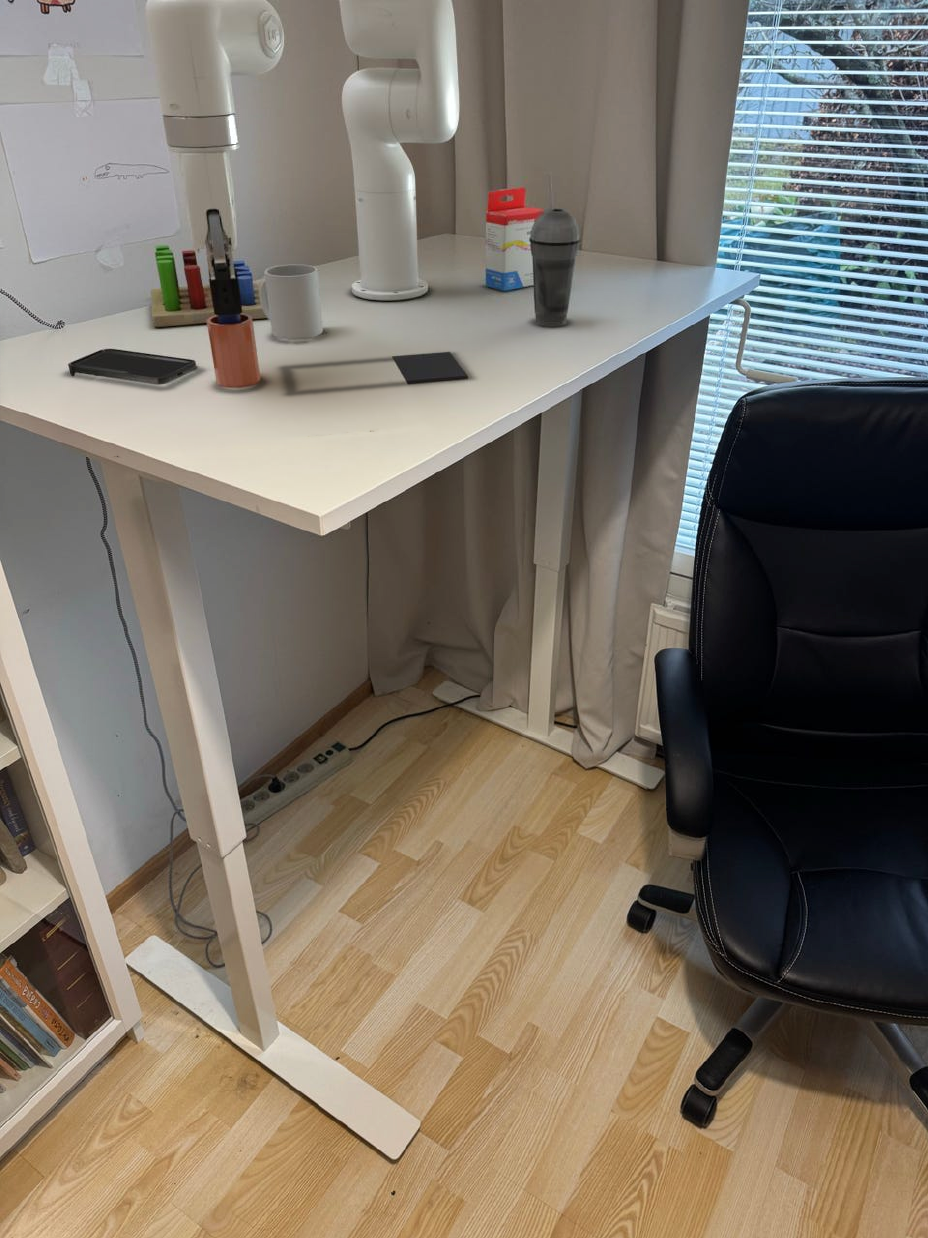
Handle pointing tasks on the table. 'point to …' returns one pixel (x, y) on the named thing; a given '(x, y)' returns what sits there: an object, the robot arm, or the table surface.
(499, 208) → the ink box
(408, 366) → the desk mat
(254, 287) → the peg board
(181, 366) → the phone
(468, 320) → the table surface
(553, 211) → the beverage cup
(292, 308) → the cup
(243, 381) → the tumbler
